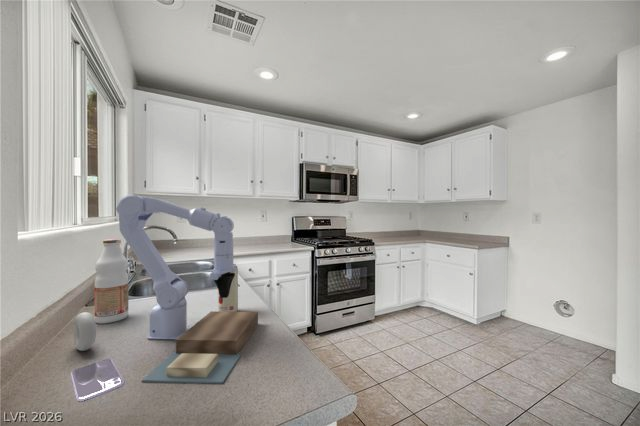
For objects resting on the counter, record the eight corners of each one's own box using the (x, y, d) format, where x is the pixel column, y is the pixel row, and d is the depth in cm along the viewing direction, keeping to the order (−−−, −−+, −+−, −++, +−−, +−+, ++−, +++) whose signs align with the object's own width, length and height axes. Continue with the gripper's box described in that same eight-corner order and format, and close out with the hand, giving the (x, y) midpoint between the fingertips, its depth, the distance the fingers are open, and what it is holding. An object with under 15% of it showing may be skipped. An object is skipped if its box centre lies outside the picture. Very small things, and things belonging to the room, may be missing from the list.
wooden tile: (181, 353, 65) (182, 361, 65) (166, 367, 59) (166, 376, 59) (217, 353, 64) (217, 362, 64) (206, 368, 58) (206, 377, 58)
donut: (98, 352, 70) (98, 314, 70) (80, 358, 67) (80, 319, 67) (87, 341, 76) (87, 307, 76) (71, 346, 73) (71, 310, 73)
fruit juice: (103, 326, 86) (103, 241, 87) (88, 321, 91) (89, 240, 91) (134, 316, 95) (134, 238, 95) (119, 312, 99) (119, 238, 99)
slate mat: (141, 381, 57) (141, 380, 57) (174, 353, 69) (174, 351, 69) (222, 383, 57) (222, 381, 57) (241, 354, 69) (241, 352, 69)
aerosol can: (216, 311, 99) (215, 258, 99) (234, 307, 103) (233, 256, 103) (222, 317, 93) (221, 261, 94) (240, 312, 98) (240, 259, 98)
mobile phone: (111, 356, 67) (125, 381, 57) (111, 360, 67) (125, 386, 57) (69, 369, 61) (77, 400, 51) (69, 374, 61) (77, 405, 51)
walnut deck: (175, 355, 68) (175, 339, 68) (210, 323, 88) (210, 311, 88) (236, 356, 68) (236, 340, 68) (257, 323, 88) (257, 311, 88)
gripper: (226, 258, 76) (227, 305, 76) (244, 251, 91) (244, 290, 91) (203, 258, 77) (203, 304, 77) (224, 251, 91) (224, 290, 91)
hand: (224, 297), depth 84 cm, fingers closed
